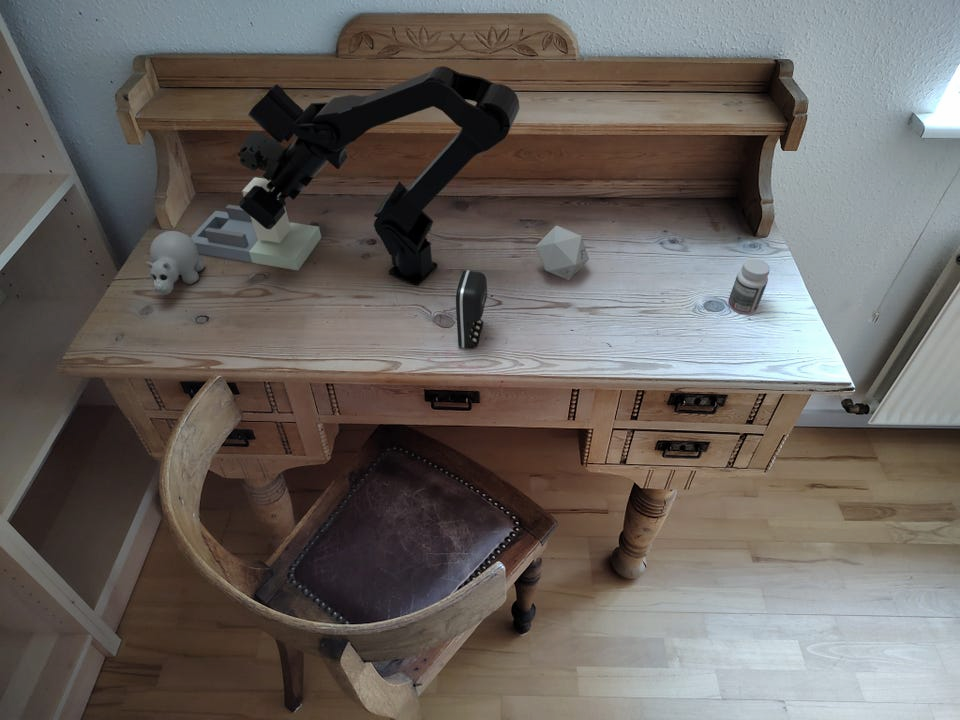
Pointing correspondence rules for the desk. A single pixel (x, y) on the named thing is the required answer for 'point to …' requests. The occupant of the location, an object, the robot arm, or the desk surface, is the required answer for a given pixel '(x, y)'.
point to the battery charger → (470, 307)
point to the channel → (253, 240)
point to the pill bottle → (749, 286)
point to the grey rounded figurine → (173, 261)
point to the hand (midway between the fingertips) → (260, 209)
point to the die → (562, 252)
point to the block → (279, 228)
